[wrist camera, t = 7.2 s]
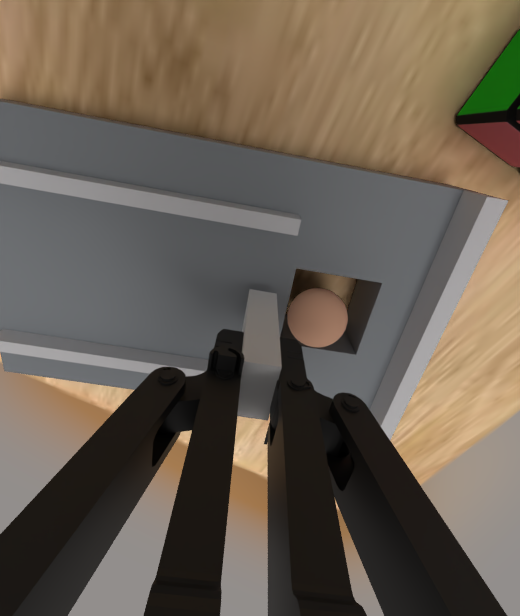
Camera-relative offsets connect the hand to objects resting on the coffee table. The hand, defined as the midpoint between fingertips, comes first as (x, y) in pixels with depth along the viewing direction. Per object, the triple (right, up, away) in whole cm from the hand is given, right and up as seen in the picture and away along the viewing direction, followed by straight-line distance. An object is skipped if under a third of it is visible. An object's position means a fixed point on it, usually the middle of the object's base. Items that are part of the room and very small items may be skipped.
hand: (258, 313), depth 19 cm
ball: (+3, 0, +1) cm, 4 cm away
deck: (-3, +3, +5) cm, 6 cm away
